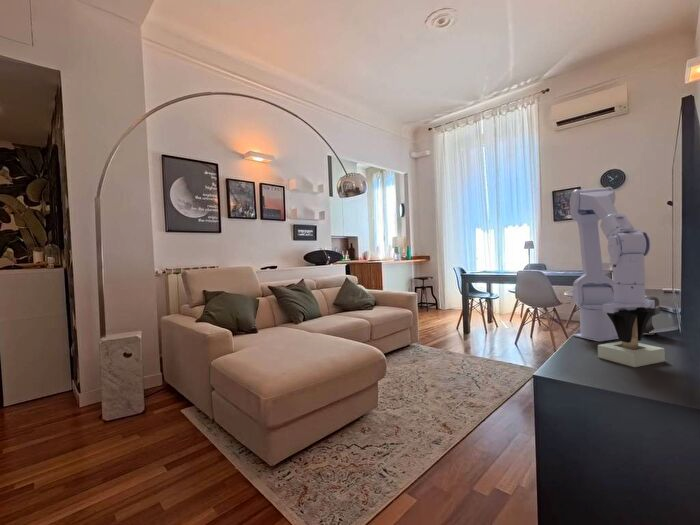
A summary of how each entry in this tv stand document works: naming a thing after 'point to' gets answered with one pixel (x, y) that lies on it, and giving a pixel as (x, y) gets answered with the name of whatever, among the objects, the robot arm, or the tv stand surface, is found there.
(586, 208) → the robot arm
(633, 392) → the tv stand surface
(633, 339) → the peg
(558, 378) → the tv stand surface
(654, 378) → the tv stand surface
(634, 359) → the hole block
